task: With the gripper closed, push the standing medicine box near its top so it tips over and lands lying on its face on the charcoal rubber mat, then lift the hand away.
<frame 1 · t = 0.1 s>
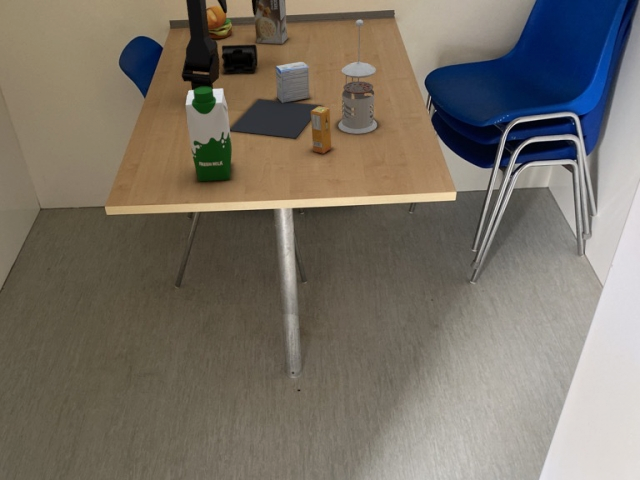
hand: (240, 13, 195), 15 cm above the table, tool pointing down, fingers open, 9 cm apart
end cap: (240, 70, 203), on the table
milk carton: (215, 173, 155), on the table
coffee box: (272, 41, 221), on the table
french press: (356, 124, 171), on the table
supplement box: (321, 150, 161), on the table
mat: (276, 118, 176), on the table
cheeseburger: (217, 36, 227), on the table
medicine box: (293, 99, 184), on the table, touching mat
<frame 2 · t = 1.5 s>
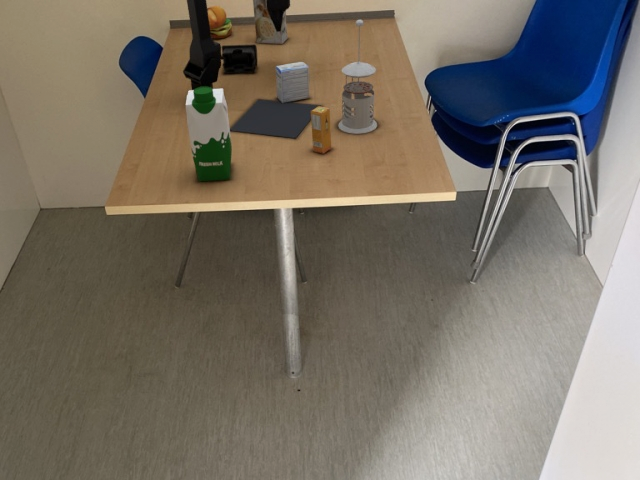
hand: (276, 26, 188), 14 cm above the table, tool pointing down, fingers open, 9 cm apart
nothing on the table moved.
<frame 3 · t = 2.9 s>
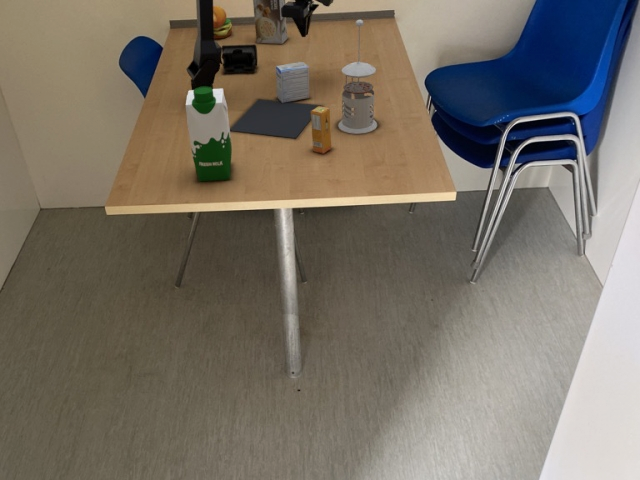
hand: (304, 35, 183), 13 cm above the table, tool pointing down, fingers closed
nothing on the table moved.
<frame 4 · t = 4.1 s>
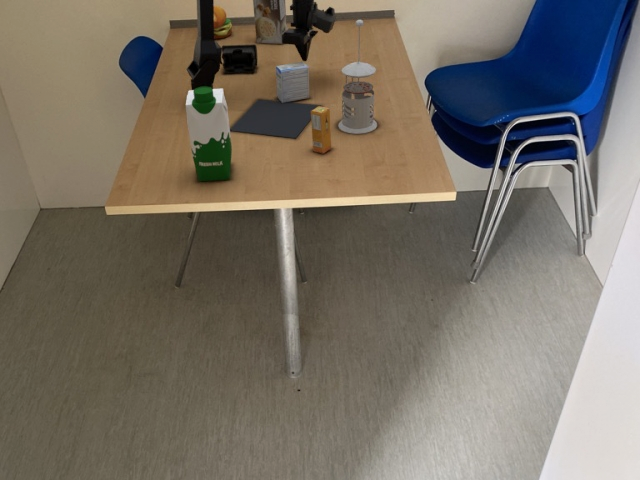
hand: (304, 60, 187), 7 cm above the table, tool pointing down, fingers closed
nothing on the table moved.
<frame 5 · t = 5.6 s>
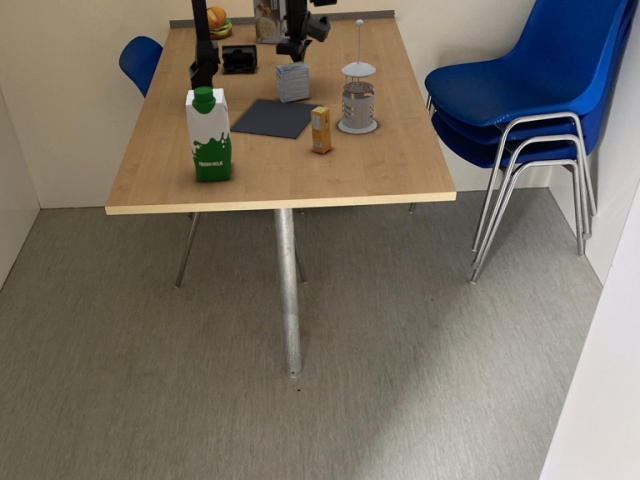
hand: (300, 70, 184), 6 cm above the table, tool pointing down, fingers closed
medicine box: (293, 98, 184), on the table, touching gripper, mat
everything else where it was.
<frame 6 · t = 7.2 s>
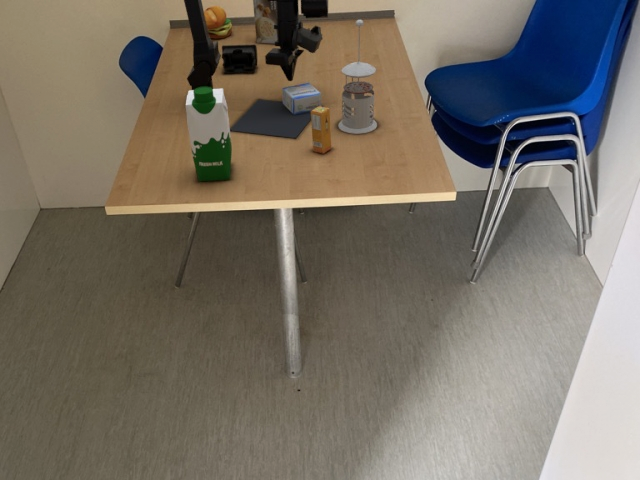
hand: (290, 80, 180), 5 cm above the table, tool pointing down, fingers closed
medicine box: (295, 92, 181), point 2 cm above the table, touching mat
everything else where it was.
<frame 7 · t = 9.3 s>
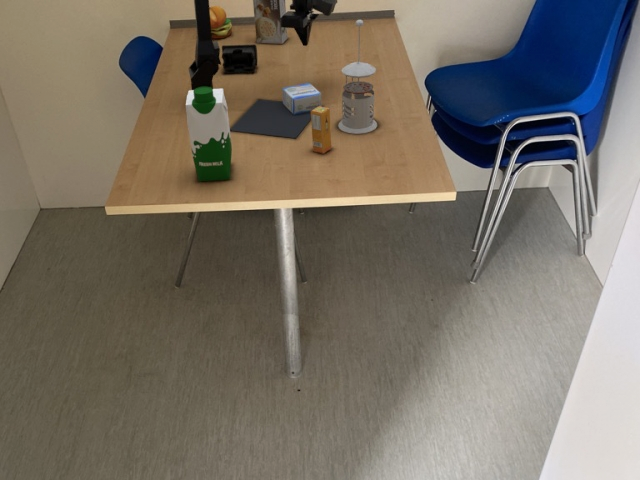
hand: (305, 45, 181), 12 cm above the table, tool pointing down, fingers closed
nothing on the table moved.
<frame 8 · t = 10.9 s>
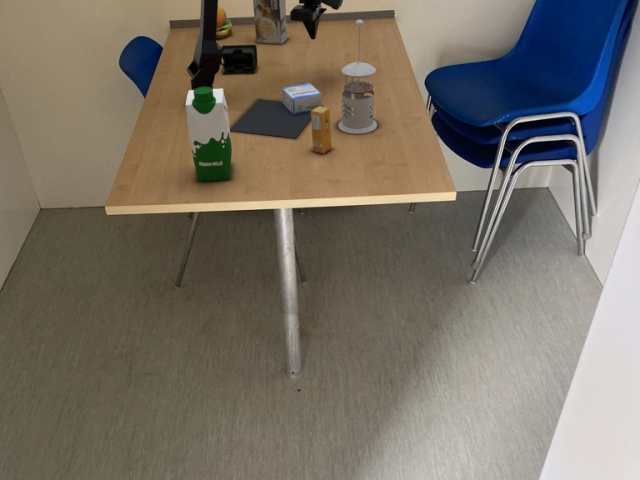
hand: (313, 39, 184), 12 cm above the table, tool pointing down, fingers closed
nothing on the table moved.
at the end: medicine box tilted 89°; medicine box inside the target area (4.3 cm from its centre), point 2.4 cm above the table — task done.
